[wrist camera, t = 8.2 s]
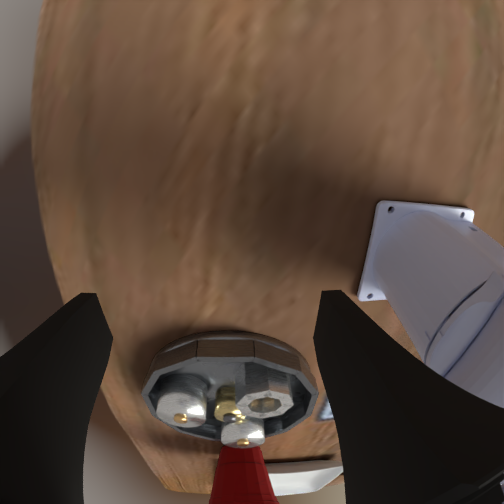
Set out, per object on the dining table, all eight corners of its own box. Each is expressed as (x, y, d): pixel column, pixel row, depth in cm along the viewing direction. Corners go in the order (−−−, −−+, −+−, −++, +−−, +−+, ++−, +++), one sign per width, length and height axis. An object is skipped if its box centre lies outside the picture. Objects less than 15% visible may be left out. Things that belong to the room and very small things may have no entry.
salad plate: (223, 484, 48) (223, 497, 45) (225, 457, 38) (225, 475, 35) (315, 480, 50) (317, 492, 47) (348, 449, 40) (352, 465, 37)
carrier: (324, 327, 23) (338, 372, 19) (299, 418, 31) (304, 451, 26) (131, 327, 22) (115, 371, 18) (167, 418, 30) (162, 451, 26)
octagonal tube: (280, 353, 23) (286, 386, 20) (291, 381, 25) (296, 411, 22) (229, 364, 23) (229, 397, 20) (245, 390, 25) (247, 420, 22)
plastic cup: (270, 460, 38) (275, 522, 28) (204, 457, 37) (202, 522, 27) (287, 435, 33) (297, 513, 23) (207, 433, 32) (204, 514, 22)
